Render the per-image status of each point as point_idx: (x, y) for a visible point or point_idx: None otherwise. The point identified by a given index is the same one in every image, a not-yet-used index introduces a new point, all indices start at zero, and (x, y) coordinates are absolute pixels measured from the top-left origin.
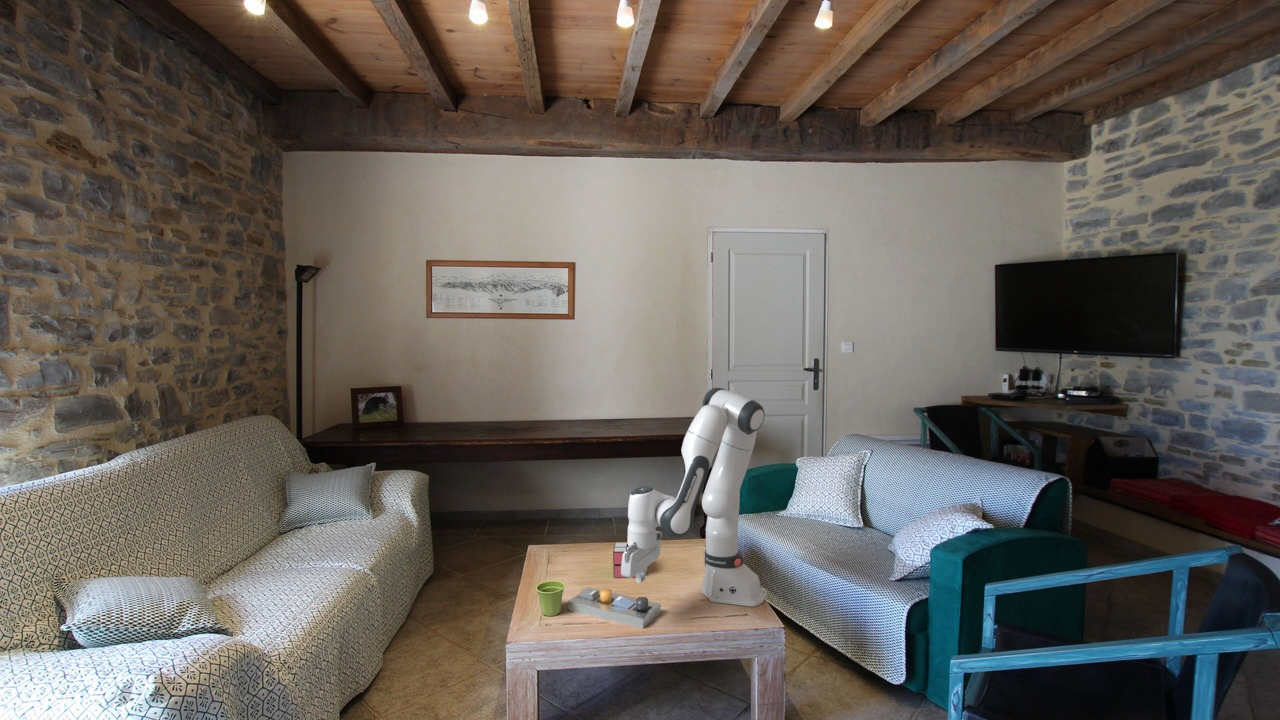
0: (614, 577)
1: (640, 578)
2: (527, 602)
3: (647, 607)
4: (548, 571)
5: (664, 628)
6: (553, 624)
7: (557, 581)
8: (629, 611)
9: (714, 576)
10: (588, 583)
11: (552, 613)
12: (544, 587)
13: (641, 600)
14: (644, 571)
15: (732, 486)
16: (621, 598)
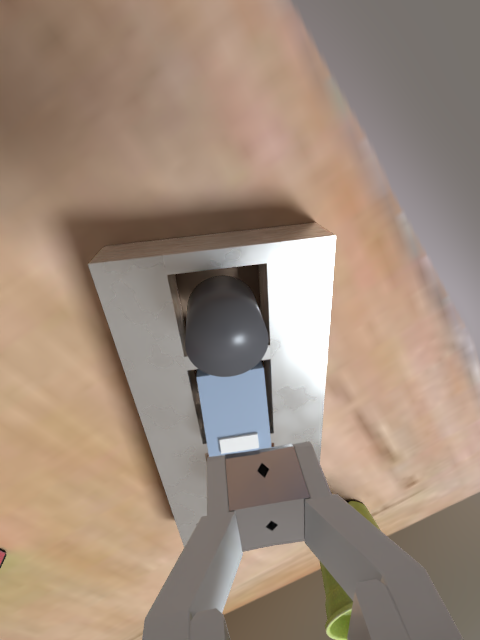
0: (5, 553)
1: (326, 491)
2: (313, 569)
3: (219, 286)
4: (134, 635)
5: (258, 104)
6: (404, 474)
7: (328, 631)
8: (286, 345)
9: None
10: (112, 564)
11: (365, 510)
12: (347, 615)
13: (242, 338)
14: (212, 576)
15: None
16: (228, 438)
